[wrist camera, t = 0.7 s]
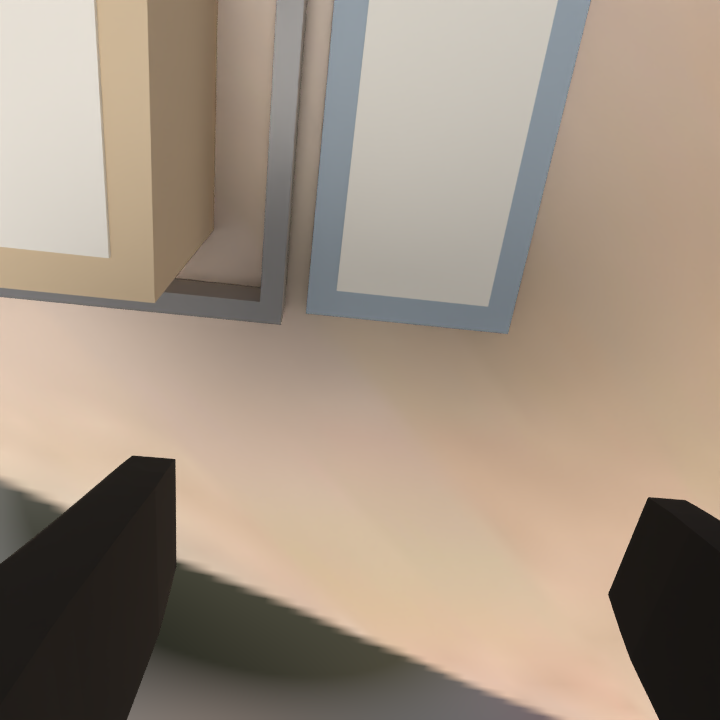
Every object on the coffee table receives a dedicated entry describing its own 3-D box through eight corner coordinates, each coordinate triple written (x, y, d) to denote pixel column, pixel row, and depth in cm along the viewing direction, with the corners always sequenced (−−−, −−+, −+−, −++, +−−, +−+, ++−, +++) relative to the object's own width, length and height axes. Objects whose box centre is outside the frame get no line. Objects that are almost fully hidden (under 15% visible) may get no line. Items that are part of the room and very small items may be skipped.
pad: (601, -69, 14) (609, -74, 13) (504, 329, 18) (508, 334, 17) (344, -112, 13) (344, -118, 13) (306, 308, 17) (305, 314, 17)
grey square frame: (315, -122, 13) (314, -140, 12) (284, 309, 17) (280, 324, 16) (-101, -191, 12) (-144, -217, 11) (-27, 278, 17) (-52, 291, 15)
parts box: (218, -24, 14) (142, -94, 8) (213, 230, 16) (153, 305, 11) (18, -55, 13) (-201, -149, 8) (45, 210, 16) (-107, 278, 10)
